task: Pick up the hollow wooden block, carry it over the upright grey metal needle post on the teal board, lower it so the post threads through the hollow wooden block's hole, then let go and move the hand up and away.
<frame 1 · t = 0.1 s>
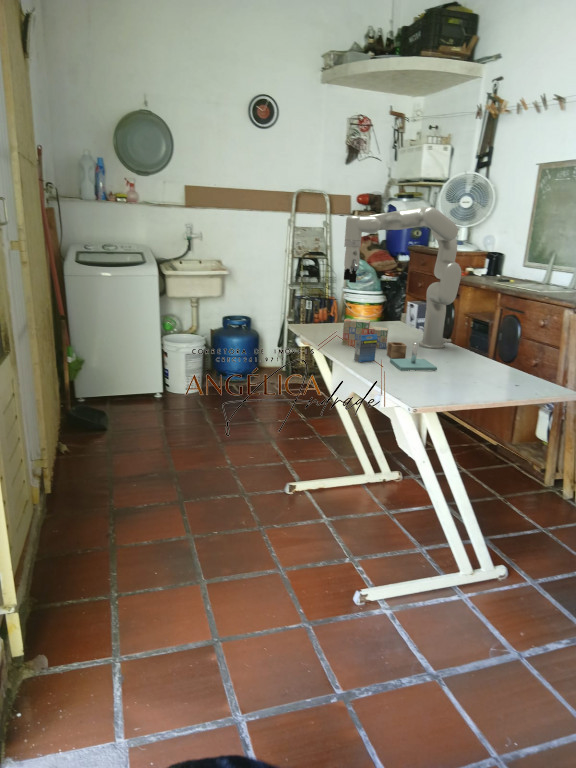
hand: (349, 281, 261), 31 cm above the table, tool pointing down, fingers open, 9 cm apart
teal flat board: (412, 366, 239), on the table
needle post: (414, 352, 238), on the teal flat board, point 6 cm above the table
label tape box: (364, 361, 245), on the table
stack of blocks: (364, 346, 272), on the table
hollow wooden block: (395, 356, 254), on the table
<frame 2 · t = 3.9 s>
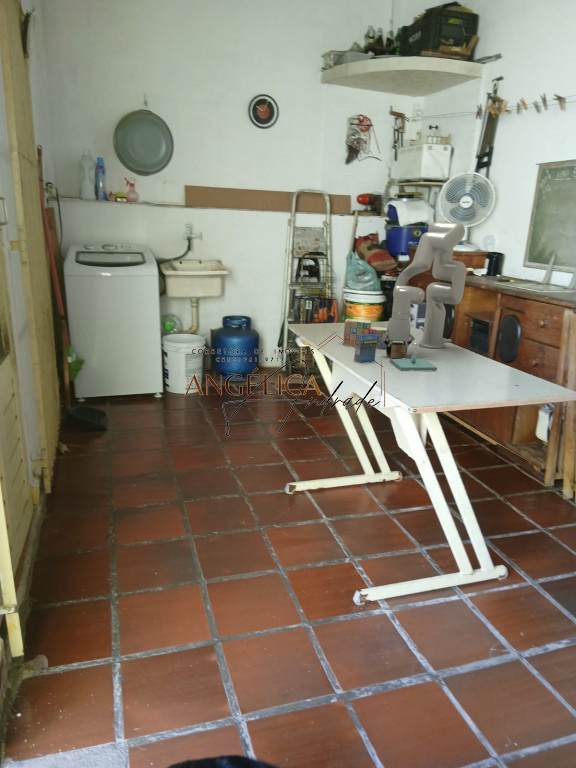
hand: (396, 354, 254), 1 cm above the table, tool pointing down, fingers closed on hollow wooden block, 6 cm apart
hollow wooden block: (395, 356, 254), on the table, touching gripper
everything else where it was.
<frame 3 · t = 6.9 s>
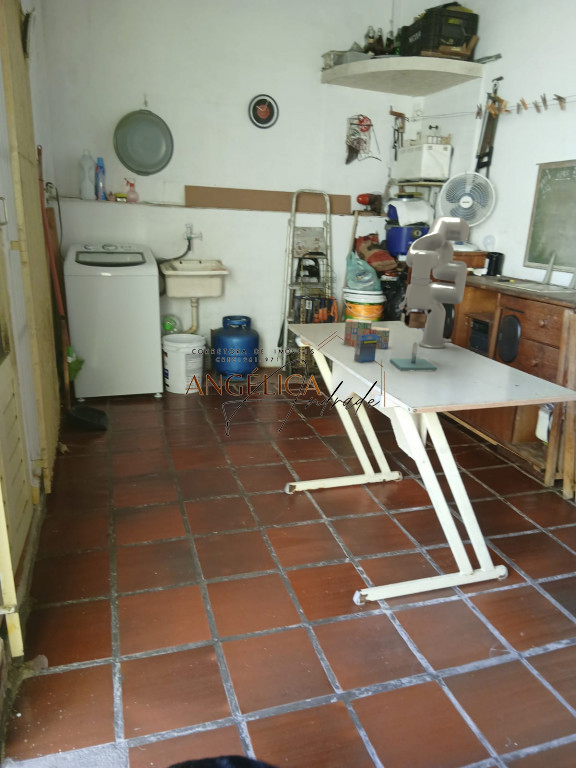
hand: (414, 324, 236), 18 cm above the table, tool pointing down, fingers closed on hollow wooden block, 6 cm apart
hollow wooden block: (414, 326, 236), point 17 cm above the table, touching gripper
everything else where it was.
when the fingers open (5 cm above the table, at t = 10.1 s): hollow wooden block drops 2 cm, resting on teal flat board.
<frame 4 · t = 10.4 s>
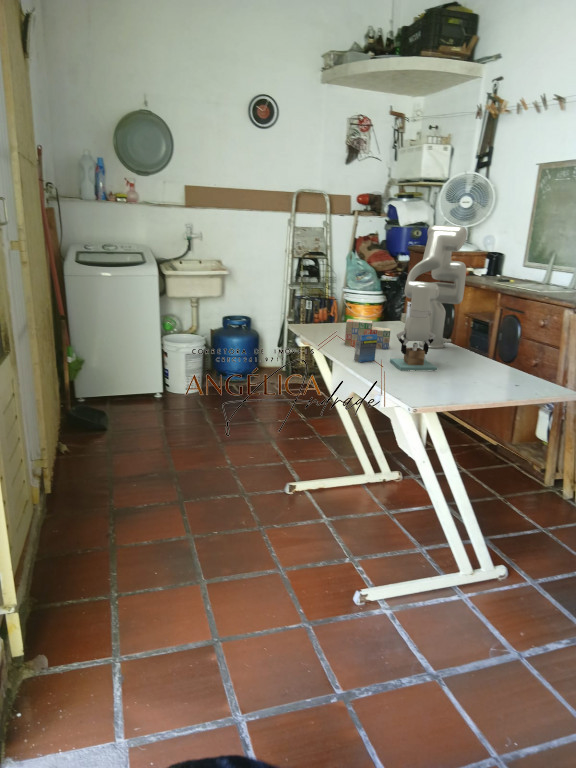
hand: (414, 353, 238), 6 cm above the table, tool pointing down, fingers open, 9 cm apart
hollow wooden block: (413, 362, 239), point 1 cm above the table, touching teal flat board
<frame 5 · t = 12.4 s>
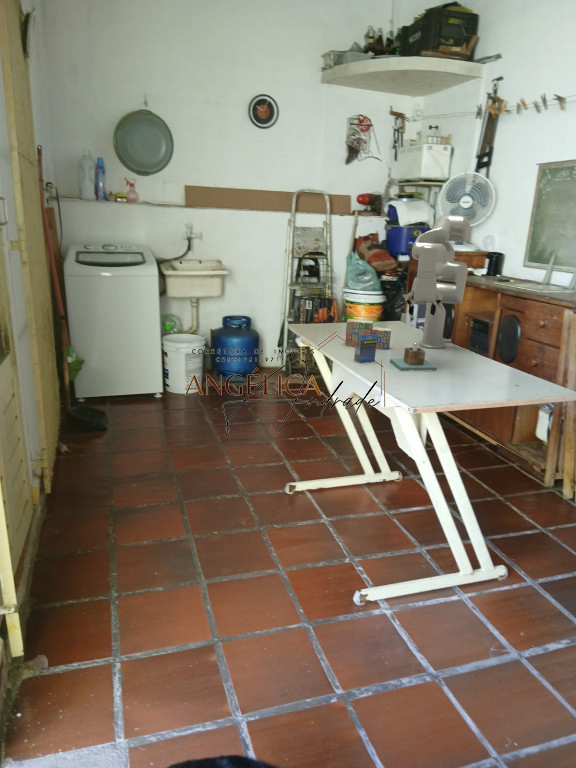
hand: (421, 314, 240), 21 cm above the table, tool pointing down, fingers open, 9 cm apart
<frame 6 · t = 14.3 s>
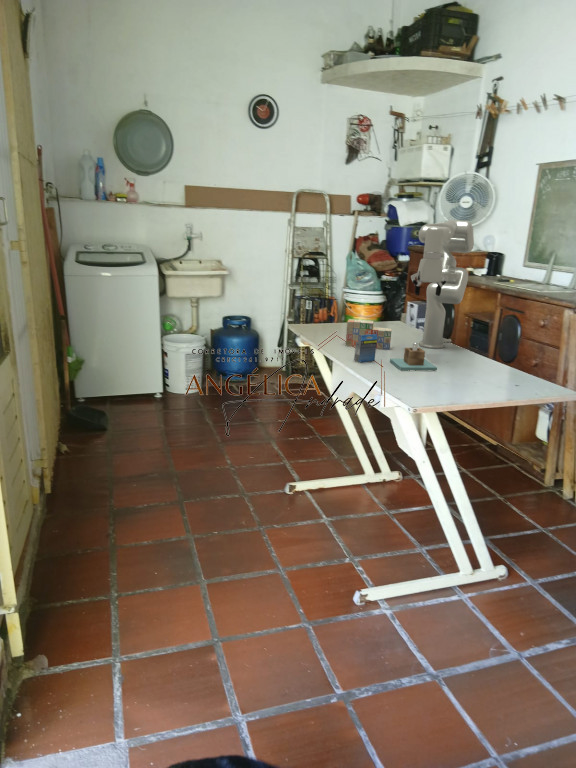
hand: (427, 295, 248), 28 cm above the table, tool pointing down, fingers open, 9 cm apart
at the end: hollow wooden block 0.1 cm off-centre on the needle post, point 1.5 cm above the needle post's base; hollow wooden block tilted 0°; the gripper is holding nothing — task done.
